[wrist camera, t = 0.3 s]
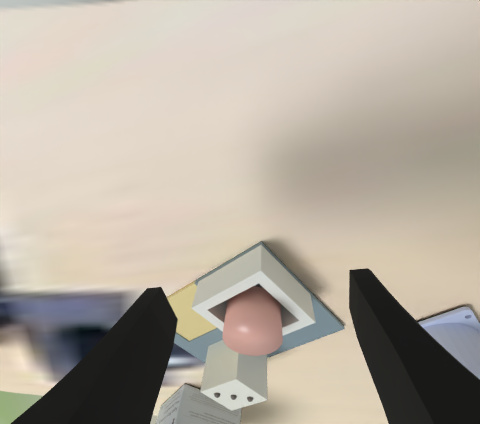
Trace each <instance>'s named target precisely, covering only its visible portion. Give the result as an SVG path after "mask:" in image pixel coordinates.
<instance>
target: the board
mask: <svg viewBox="0 0 480 424" xmlns="http://www.w3.org/2000/svg"><path fill="white" fill-rule="evenodd" d="M260 245H262V246H263V247H264V248H265V249H266V250H267V251H268V252H269V253H270V254H271V255H272V256H273V257H274V258H275V259H276V260H277V261H278V262H279V263H280V264H281V265H282V266H283V267H284V268H285V269H286V270H287V271H288V272H289V273H290V274H291V275H292V276H293V277H294V278H295V279H296V280H297V281H298V282H299V283H300V284H301V285H302V286H303V287H304V288H305V289H306V290H307V291H308V292H309V293H310V295H311V300H312V306H313V311H314V317H315V322H316V323H313V324H311V325H308V326H306V327H303V328H301V329H298V330H296V331H293V332H291V333H289V334H286V335H284V336H283V342H282V345H281V346H280V347H279V349H277V350H276V351H274V352H272V353H270V354H267V358H268V357H271V356H273V355H276V354H279V353H281V352H284V351H287V350H289V349H292V348H295V347H297V346H300V345H303V344H305V343H308V342H311V341H313V340H316V339H319V338H321V337H324V336H327V335H330V334H332V333H335V332H338V331H340V330H343V329H344V325H343V324H342V323H341V322H340V321H339V320H338V319H337V318H336V317H335V316H334V315H333V314H332V313H331V312H330V311H329V310H328V309H327V308H326V307H325V306H324V305H323V304H322V303H321V302H320V301H319V300H318V299H317V298H316V297H315V296H314V295H313V294H312V293H311V292H310V291H309V290H308V288H307V287H306V286H305V285H304V284H303V283H302V282H301V281H300V280H299V279H298V278H297V277H296V276H295V275H294V274H293V273H292V272H291V271H290V270H289V269H288V268H287V267H286V266H285V265H284V264H283V263H282V262H281V261H280V260H279V259H278V258H277V257H276V256H275V255H274V254H273V253H272V252H271V251H270V250H269V249H268V248H267V247H266V246H265V245H264V244H263V243H262V242H259V243H258V244H256V245H254V246H253V247H251V248H249V249H248V250H246V251H244V252H243V253H241V254H239V255H238V256H236V257H234V258H233V259H231V260H229V261H227V262H226V263H224V264H222V265H221V266H219V267H217V268H216V269H214V270H212V271H211V272H209V273H207V274H206V275H204V276H202V277H201V278H199V279H197V280H196V281H194V282H192V283H190V284H189V285H187V286H185V287H184V288H182V289H180V290H179V291H177V292H175V293H174V294H172V295H170V296H169V297H167V299H168V301H169V303H170V305H171V307H172V309H173V311H174V313H175V315H176V317H177V319H178V322H177V328H176V334H175V339H174V343H175V344H177V345H178V346H180V347H181V348H183V349H184V350H186V351H187V352H189V353H190V354H192V355H193V356H195V357H196V358H198V359H199V360H201V361H202V362H204V363H205V362H206V357H207V351H208V346H210V345H212V344H214V343H217V342H219V341H221V340H223V338H222V335H223V332H222V331H221V330H220V329H218V328H217V327H216V326H214V325H213V324H212V323H210V322H209V321H208V320H206V319H205V318H204V317H202V316H201V315H200V314H198V313H197V312H196V311H194V310H193V309H192V308H191V307H192V304H193V300H194V296H195V293H196V289H197V285H198V282H199V281H200V280H202V279H204V278H205V277H207V276H209V275H211V274H212V273H214V272H216V271H217V270H219V269H221V268H222V267H224V266H226V265H227V264H229V263H231V262H233V261H234V260H236V259H238V258H239V257H241V256H243V255H244V254H246V253H248V252H250V251H251V250H253V249H255V248H256V247H258V246H260ZM255 287H261V288H263V287H262V286H261V285H260V284H259V283H258V284H256V285H255Z"/></svg>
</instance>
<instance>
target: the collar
mask: <svg viewBox="0 0 480 424" xmlns="http://www.w3.org/2000/svg"><path fill="white" fill-rule="evenodd" d="M258 283H259V284H260V285H261V286H262V287H263V288H264V289H265V290H267V291H268V292H269V293H270V294H271V295H272V296H273V297H274V298H275V299H276V300H277V301H279V302H280V304H281V320H282V335H283V336H284V335H286V334H289V333H291V332H293V331H296V330H298V329H301V328H303V327H306V326H308V325H311V324H313V323H316V322H315V317H314V311H313V306H312V300H311V295H310V293H309V292H308V291H307V290H306V289H305V288H304V287H303V286H302V285H301V284H300V283H299V282H298V281H297V280H296V279H295V278H294V277H293V276H292V275H291V274H290V273H289V272H288V271H287V270H286V269H285V268H284V267H283V266H282V265H281V264H280V263H279V262H278V261H277V260H276V259H275V258H274V257H273V256H272V255H271V254H270V253H269V252H268V251H267V250H266V249H265V248H264V247H263V246H262V245H260V246H258V247H256V248H255V249H253V250H251V251H250V252H248V253H246V254H244V255H243V256H241V257H239V258H238V259H236V260H234V261H233V262H231V263H229V264H227V265H226V266H224V267H222V268H221V269H219V270H217V271H216V272H214V273H212V274H211V275H209V276H207V277H205V278H204V279H202V280H200V281H199V282H198V285H197V289H196V293H195V296H194V300H193V304H192V307H191V308H192V309H193V310H194V311H196V312H197V313H198V314H200V315H201V316H202V317H204V318H205V319H206V320H208V321H209V322H210V323H212V324H213V325H214V326H216V327H217V328H218V329H220V330H221V331H222V332H223V327H224V320H225V313H226V306H227V300H228V299H229V298H231V297H233V296H235V295H237V294H239V293H241V292H243V291H245V290H247V289H249V288H251V287H253V286H255V285H256V284H258Z"/></svg>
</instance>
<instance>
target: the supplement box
mask: <svg viewBox="0 0 480 424" xmlns="http://www.w3.org/2000/svg"><path fill="white" fill-rule="evenodd" d="M240 422H241V408H239V409H236V410H232V411H231V410H230V409H228V408H226V407H225V406H223V405H221V404H219V403H218V402H216V401H214V400H213V399H211V398H209V397H208V396H206V395H204V394H203V393H201V392H200V389H197V388H195V387H192V386H189V385H187V384H184V385H183V386H182V387H181V388H180V389H179V390H178V391H177V392H176V393H174V394H173V395H172V396H171V397H170V398H169V399H168V400H167V401H166V402H165V403H164V404H162V405H161V407H160V411H159V414H158V418H157V422H156V424H240Z"/></svg>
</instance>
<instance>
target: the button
mask: <svg viewBox="0 0 480 424" xmlns="http://www.w3.org/2000/svg"><path fill="white" fill-rule="evenodd" d="M222 338H223V341H224V343H225V344H226V346H227V347H229V348H230V349H231V350H233V351H235V352H237V353H240V354H244V355H249V356H261V355H266V354H270V353H272V352H274V351H276V350H277V349H279V347H280V346H281V345H282V342H283V335H282V320H281V304H280V302H279V301H277V300H276V299H275V298H274V297H273V296H272V295H271V294H270V293H269V292H268V291H267V290H265V289H264V288H261V287H255V286H253V287H251V288H249V289H247V290H245V291H243V292H241V293H239V294H237V295H235V296H233V297H231V298H229V299H228V300H227V306H226V313H225V320H224V327H223V335H222Z"/></svg>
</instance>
